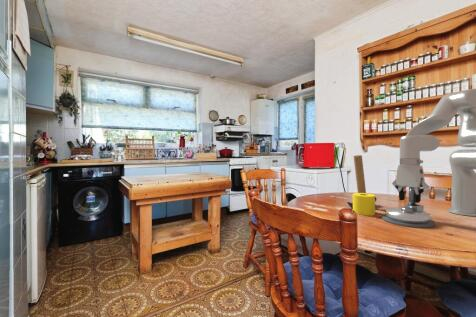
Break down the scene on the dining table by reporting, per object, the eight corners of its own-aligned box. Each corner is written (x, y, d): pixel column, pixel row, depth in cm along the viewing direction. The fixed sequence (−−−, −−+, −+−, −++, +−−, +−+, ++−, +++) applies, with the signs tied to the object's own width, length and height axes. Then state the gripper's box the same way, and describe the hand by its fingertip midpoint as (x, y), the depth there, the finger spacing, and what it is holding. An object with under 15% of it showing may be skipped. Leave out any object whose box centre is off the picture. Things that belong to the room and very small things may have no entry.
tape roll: (376, 212, 119) (376, 194, 118) (372, 216, 111) (372, 197, 111) (355, 209, 125) (355, 192, 125) (350, 213, 118) (350, 195, 118)
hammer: (356, 214, 124) (350, 159, 121) (348, 212, 129) (341, 159, 125) (377, 202, 134) (371, 152, 131) (368, 201, 138) (363, 152, 135)
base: (398, 213, 116) (398, 211, 116) (444, 223, 99) (444, 221, 99) (372, 218, 109) (372, 215, 108) (418, 230, 91) (418, 227, 91)
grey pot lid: (416, 226, 93) (416, 212, 93) (378, 216, 108) (378, 204, 107) (438, 220, 100) (438, 207, 100) (399, 212, 114) (399, 201, 114)
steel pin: (409, 209, 108) (410, 183, 107) (415, 210, 106) (416, 184, 105) (407, 210, 106) (408, 184, 106) (414, 211, 104) (415, 184, 104)
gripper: (436, 162, 101) (435, 204, 101) (395, 161, 116) (395, 197, 117) (426, 163, 97) (426, 206, 98) (385, 162, 113) (385, 198, 114)
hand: (409, 200), depth 107 cm, fingers open, 5 cm apart
